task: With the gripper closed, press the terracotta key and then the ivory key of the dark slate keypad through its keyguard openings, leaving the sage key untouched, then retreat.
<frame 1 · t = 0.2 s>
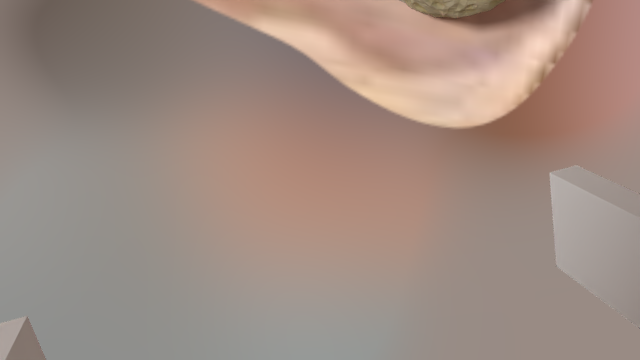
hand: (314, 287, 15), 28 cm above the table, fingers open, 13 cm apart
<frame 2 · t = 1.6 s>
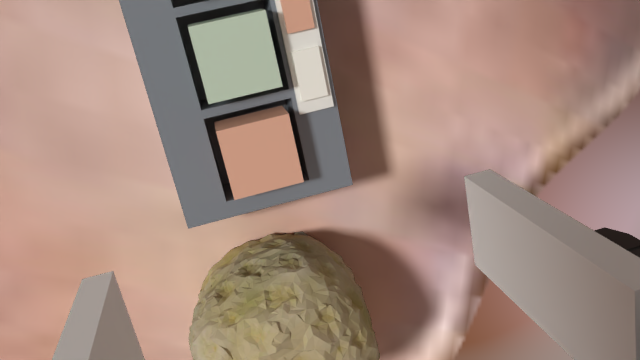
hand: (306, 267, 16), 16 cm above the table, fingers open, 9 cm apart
decorative object: (273, 297, 34), on the table
key c: (258, 151, 27), point 4 cm above the table, slide at 0.0 cm
key b: (234, 55, 25), point 4 cm above the table, slide at 0.0 cm
keypad: (229, 47, 29), on the table
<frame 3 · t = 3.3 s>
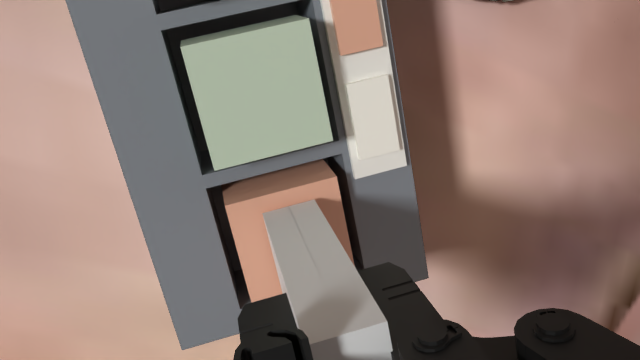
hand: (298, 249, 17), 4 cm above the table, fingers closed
key c: (288, 228, 18), point 3 cm above the table, slide at 0.6 cm, touching gripper
key b: (256, 89, 16), point 4 cm above the table, slide at 0.0 cm
keypad: (244, 72, 19), on the table
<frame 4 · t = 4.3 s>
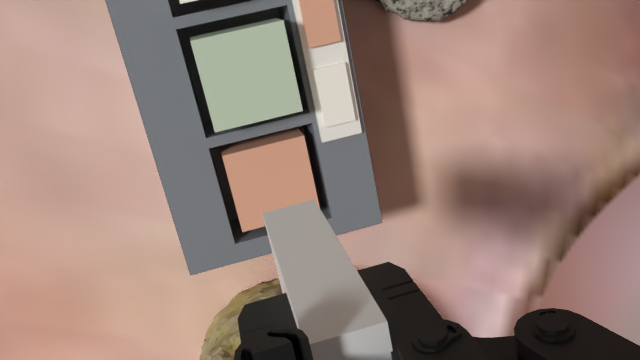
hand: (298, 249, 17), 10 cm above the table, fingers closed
decorative object: (287, 345, 29), on the table
key c: (269, 177, 24), point 2 cm above the table, slide at 1.2 cm
key b: (246, 73, 21), point 4 cm above the table, slide at 0.0 cm
keypad: (239, 63, 25), on the table
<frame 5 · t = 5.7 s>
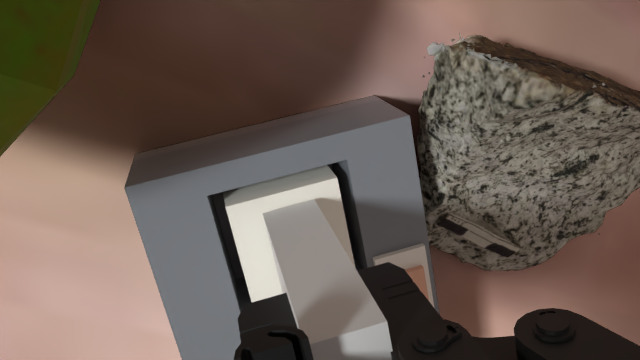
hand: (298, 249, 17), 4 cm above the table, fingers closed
rock sample: (509, 154, 22), on the table
keypad: (303, 310, 22), on the table
key a: (288, 229, 18), point 3 cm above the table, slide at 1.1 cm
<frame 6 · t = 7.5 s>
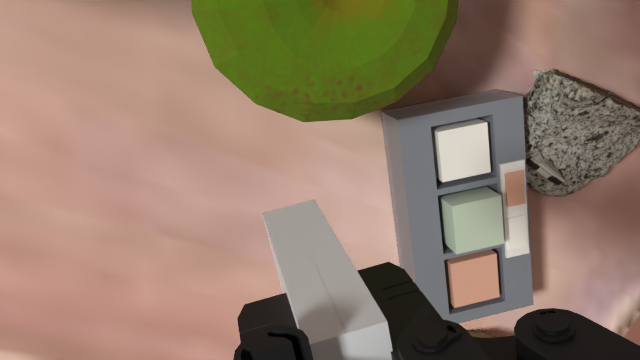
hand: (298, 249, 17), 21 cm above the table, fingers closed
rock sample: (560, 133, 41), on the table
key c: (468, 274, 40), point 2 cm above the table, slide at 1.2 cm
key b: (471, 219, 37), point 4 cm above the table, slide at 0.0 cm
keypad: (449, 202, 41), on the table
key a: (458, 149, 37), point 2 cm above the table, slide at 1.2 cm
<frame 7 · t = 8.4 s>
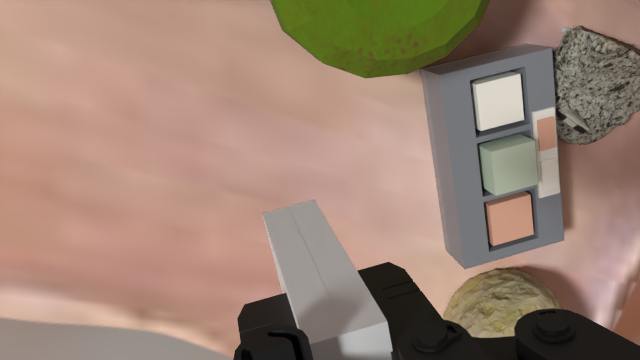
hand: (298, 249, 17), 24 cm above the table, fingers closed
rock sample: (583, 86, 45), on the table
decorative object: (488, 311, 49), on the table
key c: (504, 215, 44), point 2 cm above the table, slide at 1.2 cm
key b: (507, 164, 41), point 4 cm above the table, slide at 0.0 cm
keypad: (483, 151, 44), on the table
key a: (493, 100, 41), point 2 cm above the table, slide at 1.2 cm
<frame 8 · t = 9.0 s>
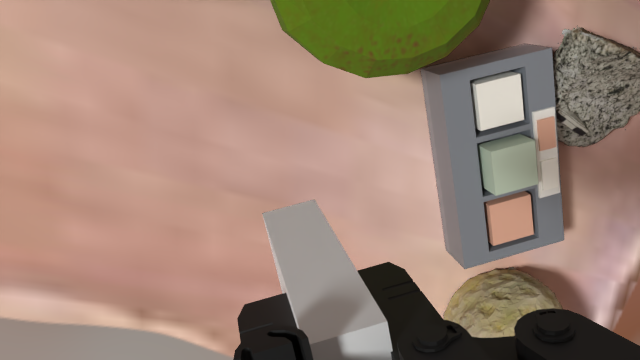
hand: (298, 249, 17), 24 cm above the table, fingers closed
rock sample: (583, 88, 45), on the table
decorative object: (488, 311, 49), on the table
key c: (505, 215, 44), point 2 cm above the table, slide at 1.2 cm
key b: (507, 164, 41), point 4 cm above the table, slide at 0.0 cm
keypad: (483, 151, 44), on the table
key a: (493, 100, 41), point 2 cm above the table, slide at 1.2 cm
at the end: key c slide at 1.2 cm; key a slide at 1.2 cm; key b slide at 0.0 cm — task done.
